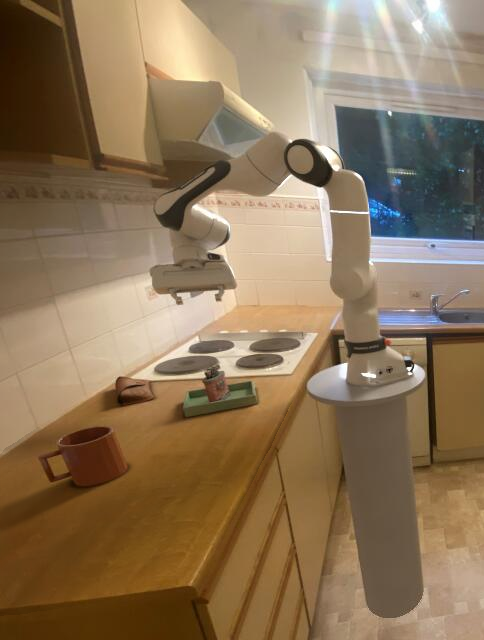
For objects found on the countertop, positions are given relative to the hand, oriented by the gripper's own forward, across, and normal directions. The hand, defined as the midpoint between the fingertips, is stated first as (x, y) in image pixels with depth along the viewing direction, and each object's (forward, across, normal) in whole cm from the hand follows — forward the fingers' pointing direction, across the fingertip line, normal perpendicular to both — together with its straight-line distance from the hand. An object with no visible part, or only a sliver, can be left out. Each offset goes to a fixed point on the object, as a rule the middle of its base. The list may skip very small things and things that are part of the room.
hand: (199, 302), depth 125 cm
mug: (+49, -23, -10) cm, 55 cm away
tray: (+27, 0, +11) cm, 30 cm away
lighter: (+27, 0, +11) cm, 29 cm away
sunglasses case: (+13, -22, +26) cm, 37 cm away
